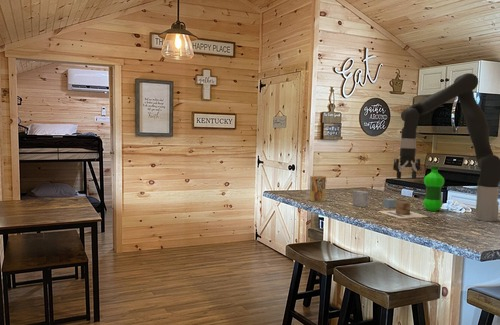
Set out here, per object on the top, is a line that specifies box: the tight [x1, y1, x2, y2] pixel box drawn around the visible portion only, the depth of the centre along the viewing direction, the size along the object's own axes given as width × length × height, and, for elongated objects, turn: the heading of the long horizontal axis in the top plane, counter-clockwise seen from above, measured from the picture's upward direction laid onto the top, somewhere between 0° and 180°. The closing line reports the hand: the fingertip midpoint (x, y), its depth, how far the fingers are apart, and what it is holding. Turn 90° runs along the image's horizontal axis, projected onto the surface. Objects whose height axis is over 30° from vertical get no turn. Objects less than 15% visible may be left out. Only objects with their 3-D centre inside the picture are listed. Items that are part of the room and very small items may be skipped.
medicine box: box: [352, 190, 370, 208], centre depth 243 cm, size 8×4×9 cm, turn 47°
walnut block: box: [395, 201, 411, 215], centre depth 220 cm, size 5×5×6 cm
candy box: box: [309, 175, 327, 202], centre depth 259 cm, size 9×4×15 cm, turn 103°
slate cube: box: [382, 198, 397, 209], centre depth 240 cm, size 5×5×5 cm
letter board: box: [377, 209, 429, 219], centre depth 220 cm, size 18×18×1 cm
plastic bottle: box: [422, 165, 445, 212], centre depth 235 cm, size 10×10×25 cm
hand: (406, 178), depth 215 cm, fingers open, 8 cm apart
